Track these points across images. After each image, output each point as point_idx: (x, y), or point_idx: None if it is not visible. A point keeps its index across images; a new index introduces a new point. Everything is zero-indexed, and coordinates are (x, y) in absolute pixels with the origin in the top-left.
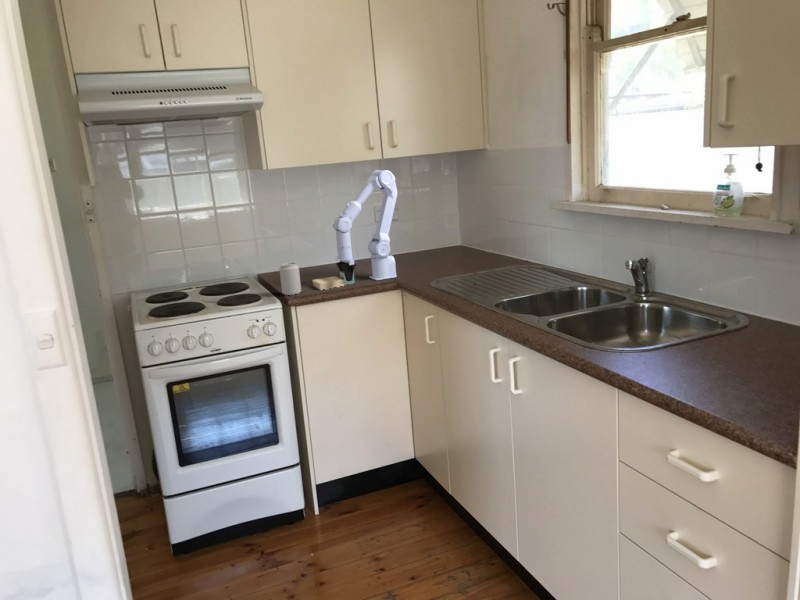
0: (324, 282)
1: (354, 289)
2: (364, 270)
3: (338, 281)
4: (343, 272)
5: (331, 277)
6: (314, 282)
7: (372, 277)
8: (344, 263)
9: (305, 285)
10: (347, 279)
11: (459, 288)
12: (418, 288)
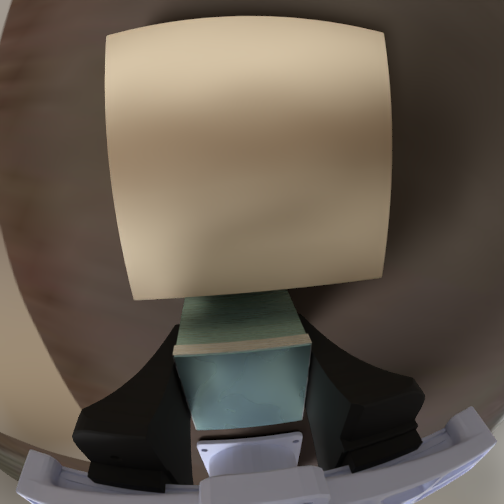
0: (139, 87)
1: (23, 297)
2: (448, 405)
3: (124, 244)
4: (214, 365)
5: (360, 230)
6: (307, 25)
7: (262, 442)
8: (330, 454)
9: (409, 28)
10: (168, 336)
11: (11, 463)
12: (13, 438)
